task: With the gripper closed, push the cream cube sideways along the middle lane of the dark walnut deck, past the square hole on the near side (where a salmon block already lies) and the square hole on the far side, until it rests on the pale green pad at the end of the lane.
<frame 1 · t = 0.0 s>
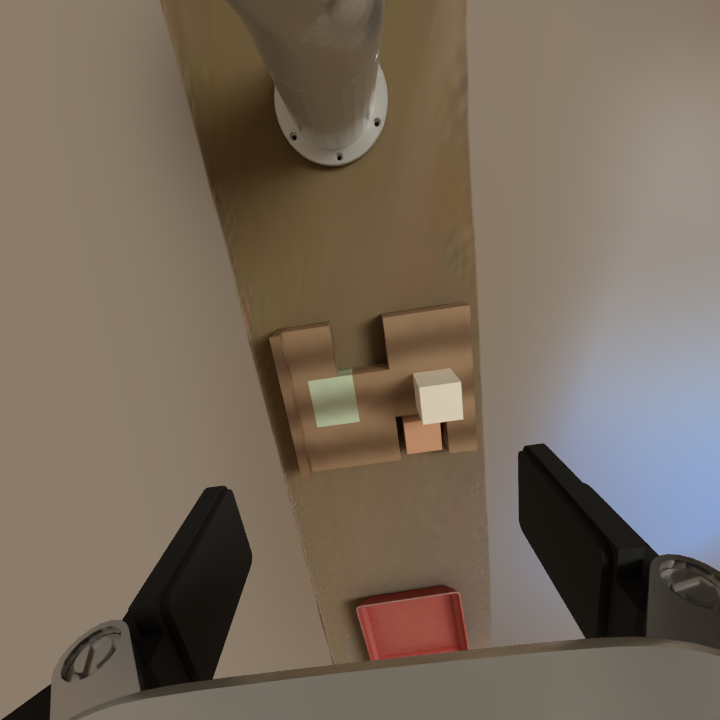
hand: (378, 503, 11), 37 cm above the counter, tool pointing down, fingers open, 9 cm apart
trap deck: (383, 386, 49), on the counter
salmon block: (419, 424, 51), on the counter
cream cube: (432, 388, 46), point 3 cm above the counter, touching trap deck
plant saucer: (412, 616, 64), on the counter
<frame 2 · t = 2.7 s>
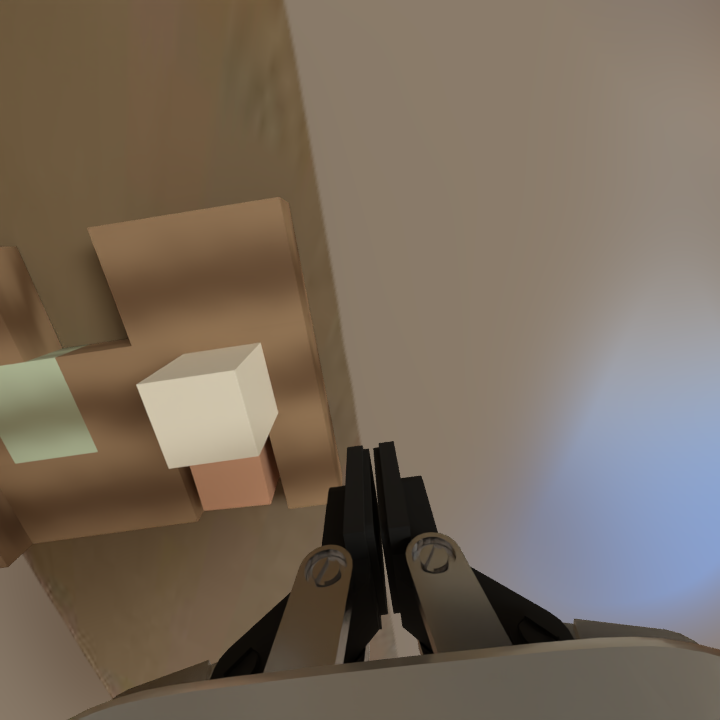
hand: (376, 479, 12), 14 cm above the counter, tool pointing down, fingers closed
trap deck: (160, 381, 25), on the counter
salmon block: (244, 451, 28), on the counter
cream cube: (232, 384, 22), point 3 cm above the counter, touching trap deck
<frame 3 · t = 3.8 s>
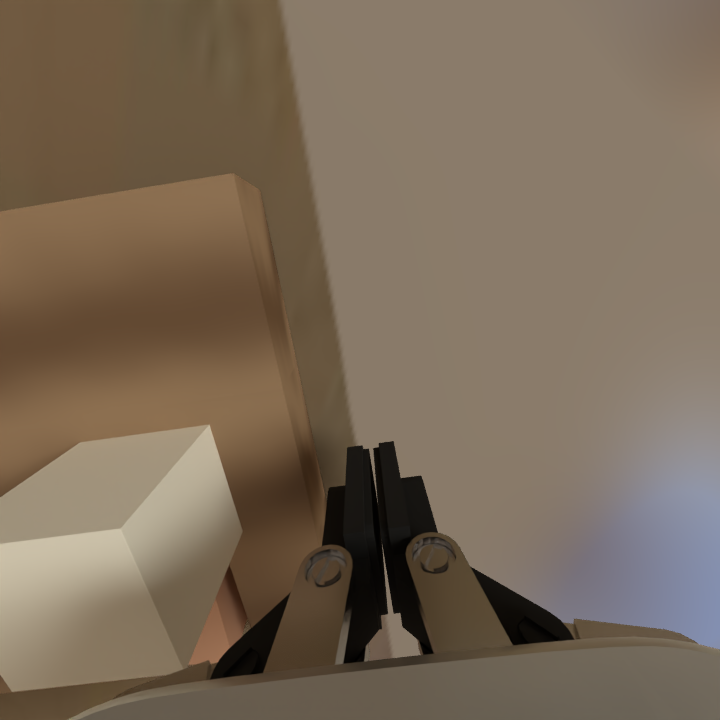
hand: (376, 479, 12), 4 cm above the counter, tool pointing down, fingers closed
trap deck: (68, 465, 17), on the counter
salmon block: (201, 560, 19), on the counter
cream cube: (165, 489, 14), point 3 cm above the counter, touching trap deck
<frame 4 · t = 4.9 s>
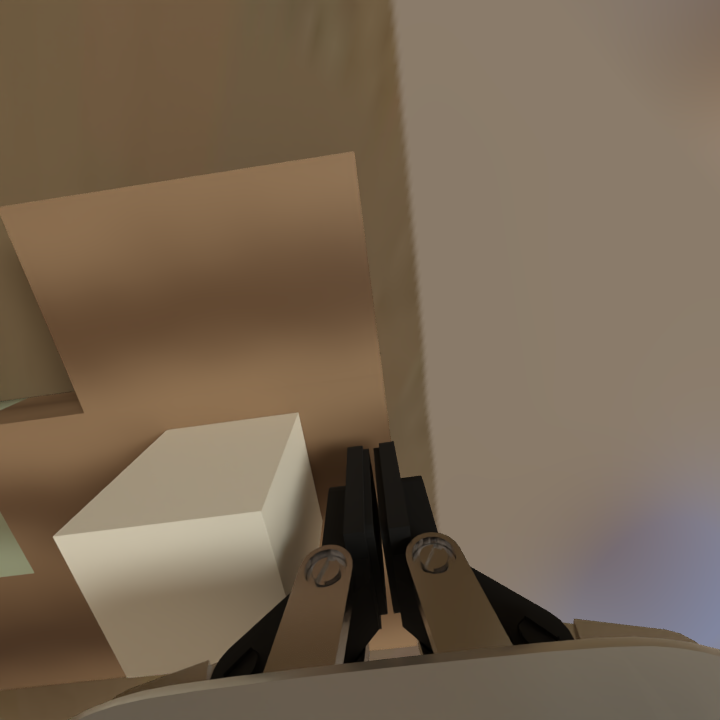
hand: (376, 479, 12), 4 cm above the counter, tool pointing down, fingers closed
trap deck: (139, 452, 16), on the counter
cream cube: (248, 477, 13), point 3 cm above the counter, touching gripper
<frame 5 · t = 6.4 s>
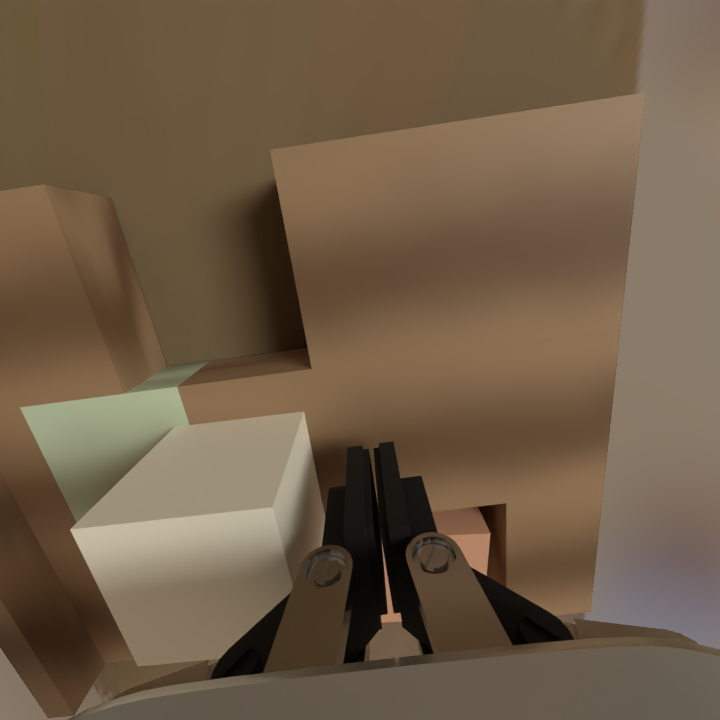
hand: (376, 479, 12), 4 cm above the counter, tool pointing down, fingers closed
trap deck: (311, 418, 16), on the counter
salmon block: (416, 520, 19), on the counter
cream cube: (253, 474, 14), point 3 cm above the counter, touching gripper, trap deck
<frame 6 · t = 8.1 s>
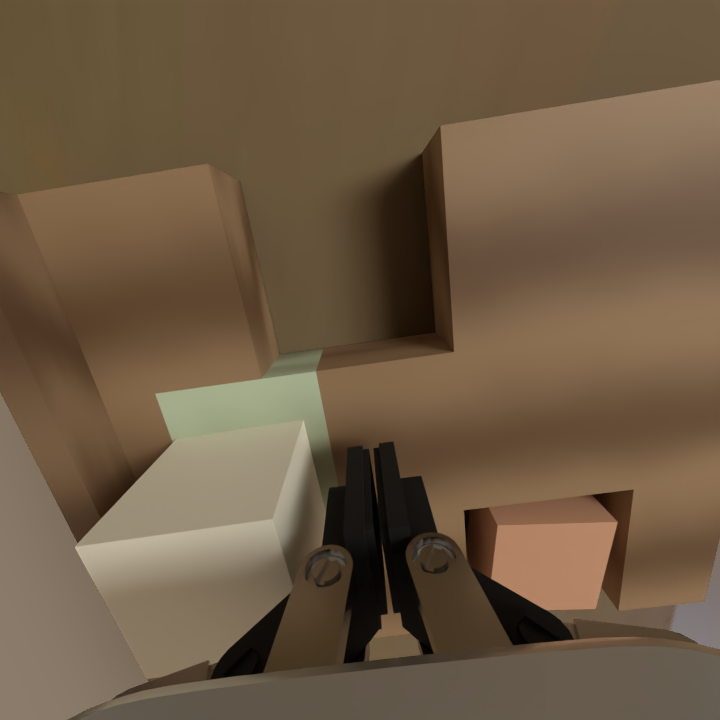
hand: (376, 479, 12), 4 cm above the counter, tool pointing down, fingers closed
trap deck: (420, 406, 16), on the counter
salmon block: (514, 511, 18), on the counter
cream cube: (256, 483, 14), point 3 cm above the counter, touching gripper, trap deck
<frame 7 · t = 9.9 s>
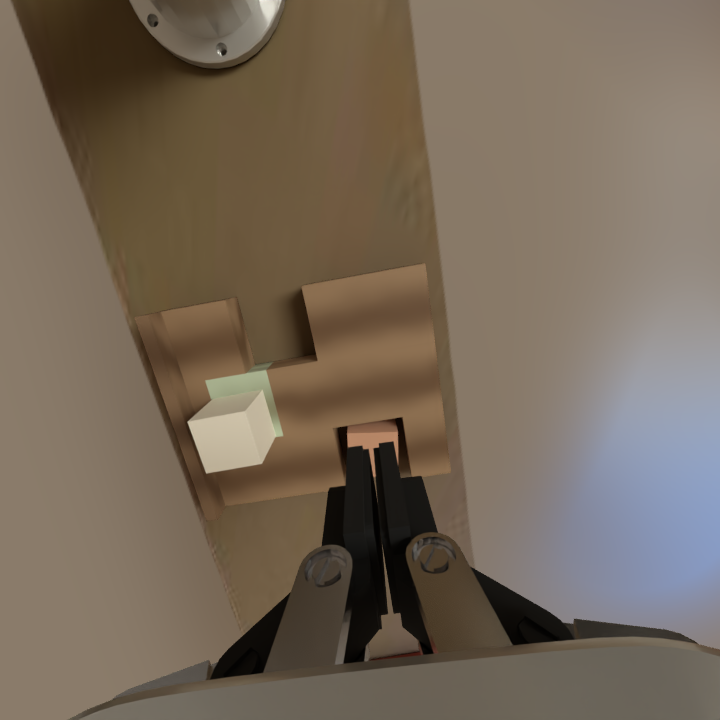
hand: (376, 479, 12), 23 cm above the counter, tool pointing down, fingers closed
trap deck: (319, 386, 36), on the counter
salmon block: (372, 438, 38), on the counter
cream cube: (244, 417, 34), point 3 cm above the counter, touching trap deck
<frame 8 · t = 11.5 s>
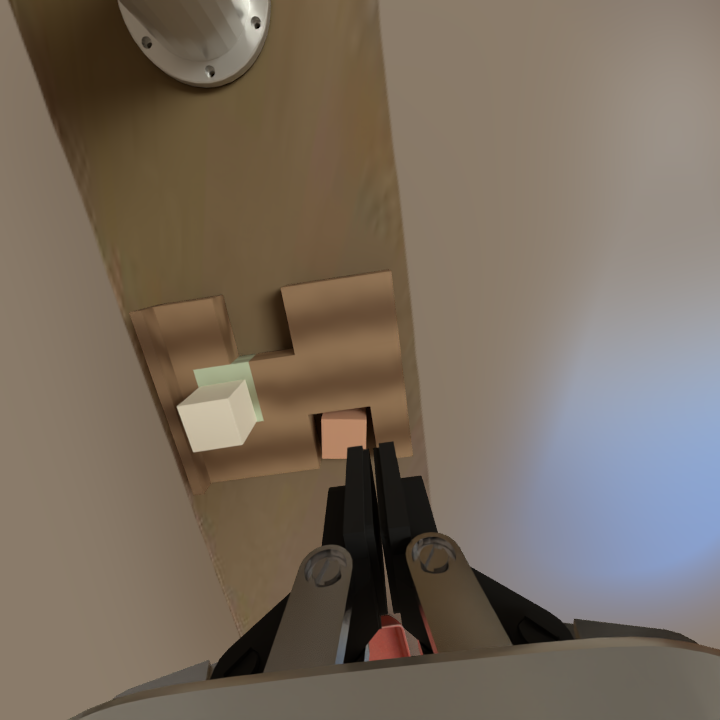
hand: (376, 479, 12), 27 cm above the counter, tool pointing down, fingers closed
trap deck: (297, 377, 40), on the counter
salmon block: (345, 424, 42), on the counter
cream cube: (228, 403, 38), point 3 cm above the counter, touching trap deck
plant saucer: (354, 650, 55), on the counter
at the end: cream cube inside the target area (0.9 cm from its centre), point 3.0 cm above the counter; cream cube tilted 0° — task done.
